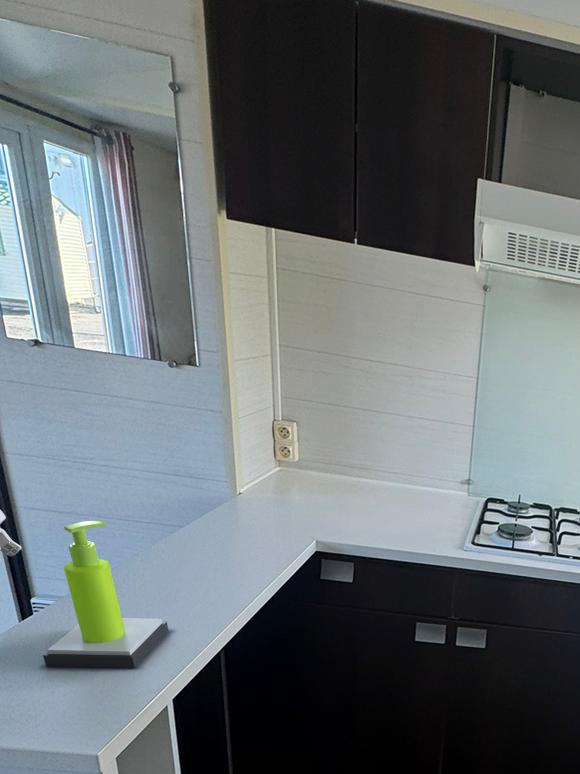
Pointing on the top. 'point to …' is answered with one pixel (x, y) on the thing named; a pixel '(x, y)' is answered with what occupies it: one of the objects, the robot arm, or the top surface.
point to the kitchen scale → (108, 646)
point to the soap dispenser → (92, 588)
